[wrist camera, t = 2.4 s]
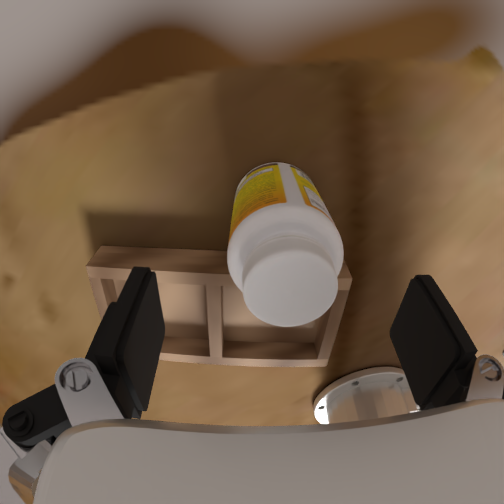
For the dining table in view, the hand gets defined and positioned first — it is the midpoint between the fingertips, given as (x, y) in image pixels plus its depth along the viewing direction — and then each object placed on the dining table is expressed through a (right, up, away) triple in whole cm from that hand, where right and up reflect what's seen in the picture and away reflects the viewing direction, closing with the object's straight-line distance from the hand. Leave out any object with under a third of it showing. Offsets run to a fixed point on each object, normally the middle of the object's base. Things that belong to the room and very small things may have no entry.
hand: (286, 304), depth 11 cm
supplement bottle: (0, +6, +11) cm, 12 cm away
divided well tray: (-4, -2, +15) cm, 16 cm away
